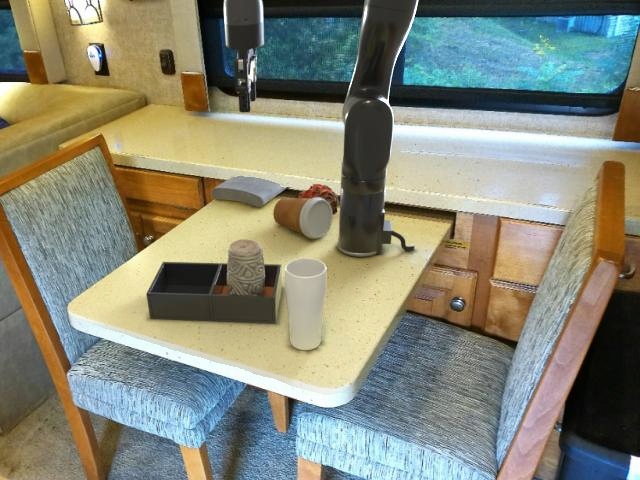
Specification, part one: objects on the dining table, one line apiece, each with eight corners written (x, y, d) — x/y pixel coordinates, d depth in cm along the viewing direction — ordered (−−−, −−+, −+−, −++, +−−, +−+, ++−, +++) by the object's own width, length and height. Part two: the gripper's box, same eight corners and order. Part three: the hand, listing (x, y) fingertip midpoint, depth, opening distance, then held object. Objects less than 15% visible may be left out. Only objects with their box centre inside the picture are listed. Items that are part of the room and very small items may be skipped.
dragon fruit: (338, 228, 144) (299, 223, 152) (352, 199, 146) (313, 195, 154) (323, 208, 138) (283, 204, 146) (338, 178, 140) (297, 175, 148)
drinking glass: (283, 333, 106) (281, 259, 98) (320, 329, 107) (322, 255, 99) (288, 356, 101) (288, 279, 93) (328, 352, 101) (331, 275, 93)
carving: (257, 313, 111) (255, 256, 104) (221, 305, 114) (217, 249, 107) (271, 296, 115) (270, 240, 109) (237, 289, 118) (233, 234, 112)
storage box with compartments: (281, 289, 119) (281, 264, 116) (276, 323, 109) (275, 297, 106) (166, 285, 123) (162, 261, 120) (150, 319, 113) (146, 293, 110)
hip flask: (263, 208, 153) (299, 182, 167) (262, 193, 151) (299, 168, 165) (212, 198, 160) (250, 173, 174) (210, 184, 158) (249, 160, 172)
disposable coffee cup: (286, 237, 146) (323, 246, 137) (262, 221, 139) (299, 229, 131) (301, 202, 146) (339, 208, 138) (278, 184, 140) (316, 189, 131)
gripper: (259, 25, 108) (262, 115, 116) (267, 14, 120) (269, 97, 128) (218, 26, 109) (224, 116, 118) (230, 15, 121) (235, 98, 129)
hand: (248, 106), depth 123 cm, fingers open, 8 cm apart
